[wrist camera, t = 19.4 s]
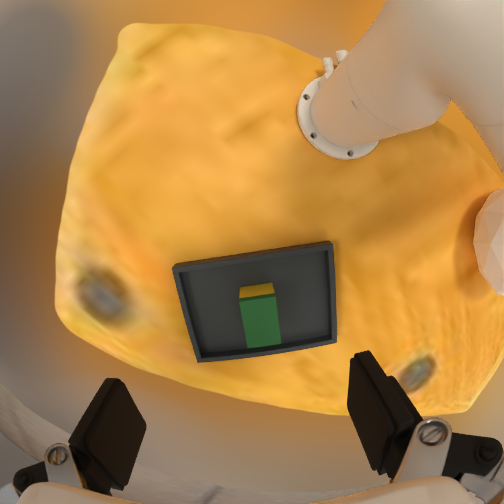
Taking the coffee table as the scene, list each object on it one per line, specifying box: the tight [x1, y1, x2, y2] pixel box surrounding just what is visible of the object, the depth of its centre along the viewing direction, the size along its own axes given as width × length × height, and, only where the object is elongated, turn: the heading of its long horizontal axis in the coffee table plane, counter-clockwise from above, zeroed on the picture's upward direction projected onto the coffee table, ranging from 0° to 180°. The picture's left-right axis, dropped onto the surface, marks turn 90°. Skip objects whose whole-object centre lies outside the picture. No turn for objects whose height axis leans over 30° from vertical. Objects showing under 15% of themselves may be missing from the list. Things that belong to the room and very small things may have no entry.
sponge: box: [239, 283, 281, 348], centre depth 36 cm, size 7×4×5 cm, turn 8°
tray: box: [172, 241, 337, 363], centre depth 38 cm, size 16×22×2 cm
